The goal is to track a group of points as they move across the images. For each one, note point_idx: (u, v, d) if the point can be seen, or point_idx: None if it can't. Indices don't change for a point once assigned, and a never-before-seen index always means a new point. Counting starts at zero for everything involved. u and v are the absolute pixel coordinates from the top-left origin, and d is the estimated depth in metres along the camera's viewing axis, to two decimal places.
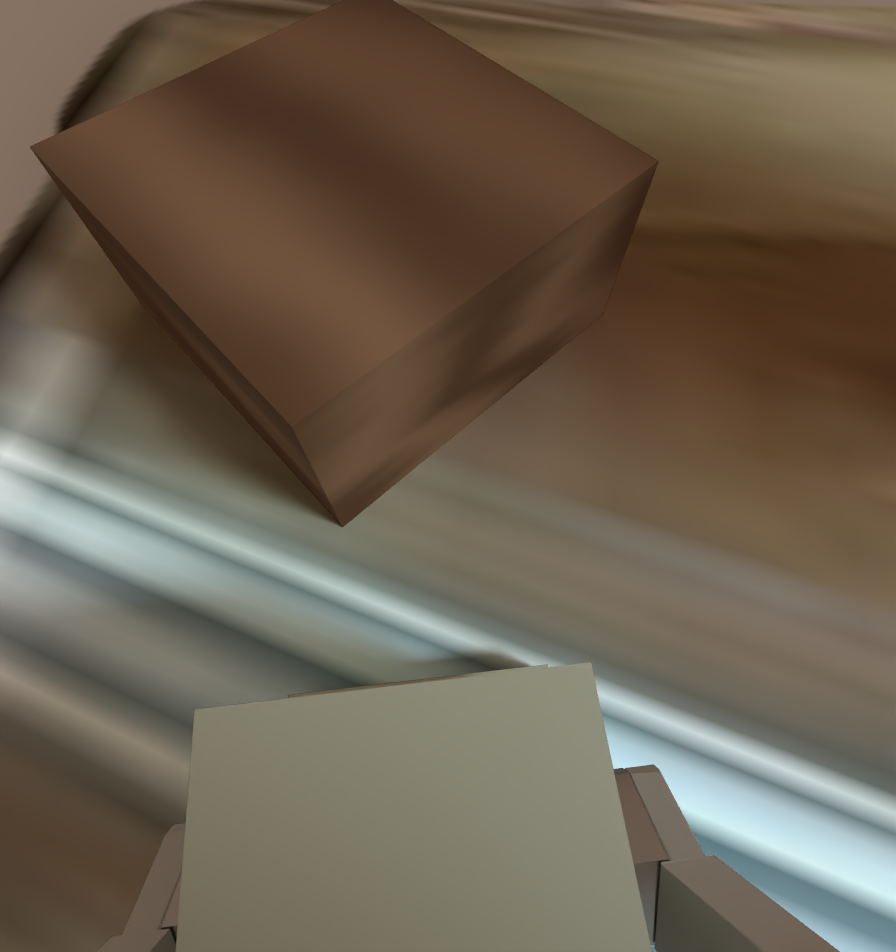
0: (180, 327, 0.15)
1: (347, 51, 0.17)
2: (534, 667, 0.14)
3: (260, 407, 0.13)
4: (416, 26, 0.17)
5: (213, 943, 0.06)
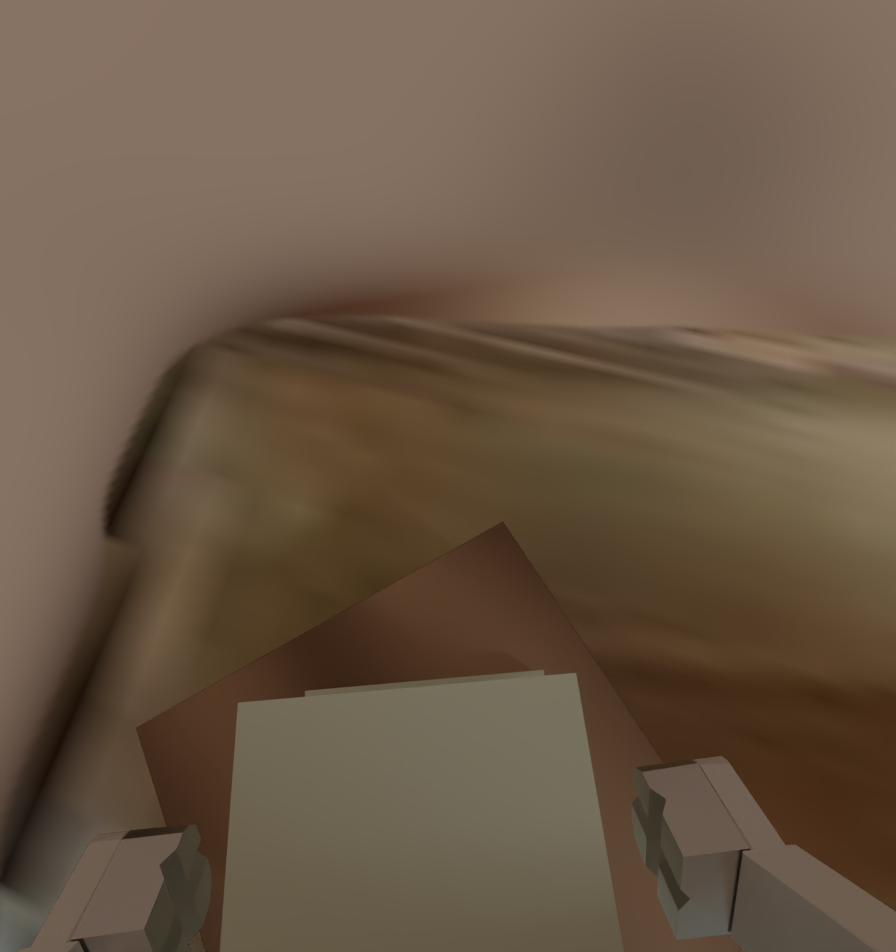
0: None
1: (463, 631, 0.16)
2: (531, 672, 0.15)
3: None
4: (540, 602, 0.17)
5: (254, 896, 0.07)
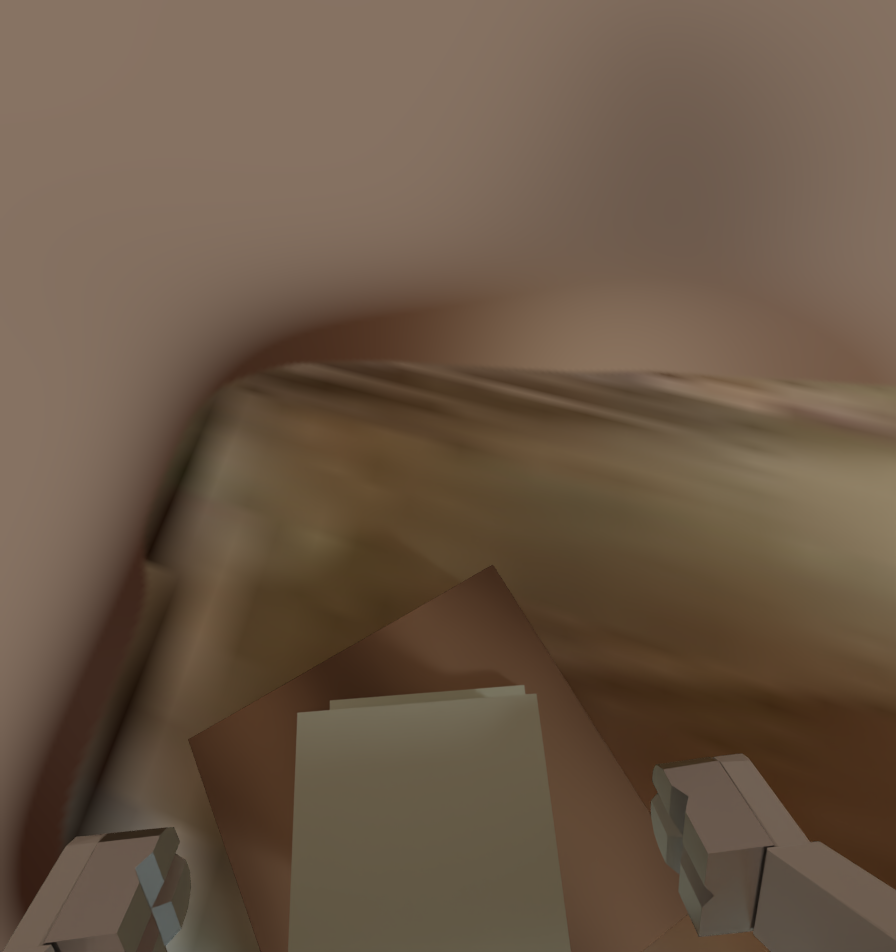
0: None
1: (458, 659, 0.20)
2: (514, 687, 0.18)
3: None
4: (523, 635, 0.20)
5: (313, 845, 0.10)
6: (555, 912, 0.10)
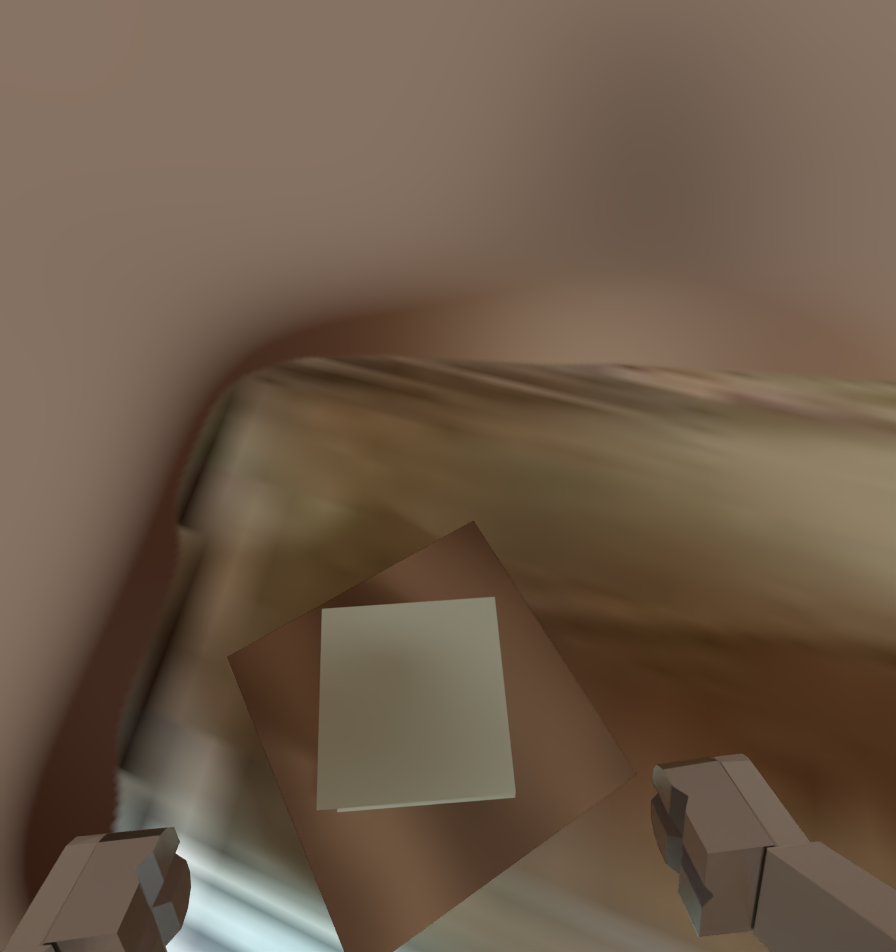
0: None
1: (444, 595, 0.24)
2: None
3: None
4: (497, 575, 0.25)
5: (334, 695, 0.15)
6: (502, 738, 0.14)
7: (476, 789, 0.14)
